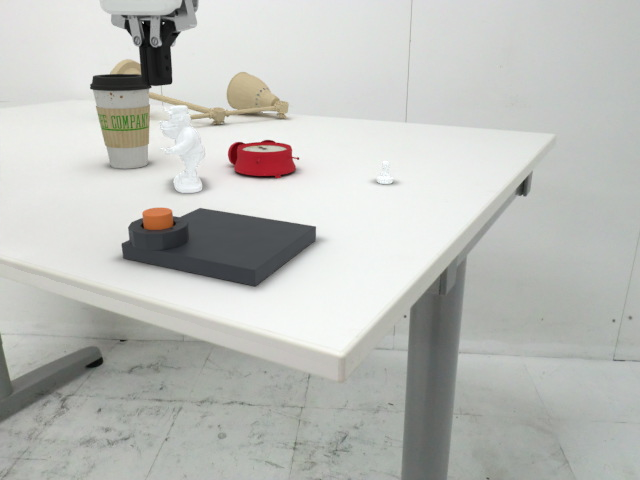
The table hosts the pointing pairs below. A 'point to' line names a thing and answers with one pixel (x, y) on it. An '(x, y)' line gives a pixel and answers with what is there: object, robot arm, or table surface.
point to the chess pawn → (385, 174)
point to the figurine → (184, 147)
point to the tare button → (157, 218)
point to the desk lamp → (241, 95)
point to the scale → (220, 244)
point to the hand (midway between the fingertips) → (157, 84)
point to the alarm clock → (262, 158)
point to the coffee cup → (123, 118)
